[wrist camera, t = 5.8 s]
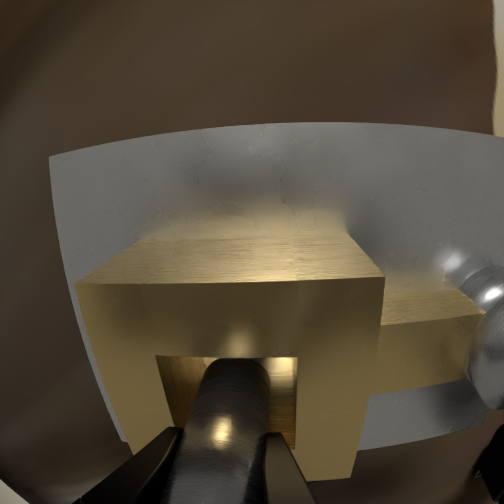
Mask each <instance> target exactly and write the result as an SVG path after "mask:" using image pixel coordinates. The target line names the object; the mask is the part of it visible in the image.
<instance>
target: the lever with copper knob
mask: <svg viewBox="0 0 504 504" xmlns="http://www.w3.org/2000/svg"><path fill="white" fill-rule="evenodd" d="M270 398H271V379H270V376H269V374H268V372H267V371H266V369H265V368H264V367H263V366H262V365H260V364H259V363H258V362H256V361H254V360H252V359H249V358H218V359H216V360H214V361H213V362H211V363H210V364H209V365H208V366H207V368H206V369H205V371H204V374H203V377H202V380H201V383H200V386H199V389H198V391H197V394H196V397H195V400H194V403H193V406H192V409H191V412H190V415H189V418H188V420H187V423H186V426H185V429H184V432H183V435H182V438H181V441H180V444H179V447H178V450H177V452H176V455H175V458H174V461H173V464H172V467H171V470H170V473H169V476H168V479H167V482H166V485H165V488H164V490H163V493H162V496H161V499H160V502H159V504H263V503H264V494H263V483H262V458H263V449H264V439H265V433H266V432H269V415H270Z"/></svg>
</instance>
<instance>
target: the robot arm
mask: <svg viewBox="0 0 504 504" xmlns="http://www.w3.org/2000/svg"><path fill="white" fill-rule="evenodd" d="M183 432H184V429H183V428H181V427H172V426H169V427H167V428H166V429H164V430H163V431H162V432H161V433H160V434H159V435H157V436H156V437H155V438H154V439H153V440H152V441H150V442H149V443H148V444H147V445H146V446H144V447H143V448H142V449H141V450H140V451H138V452H137V453H136V454H135V455H134V456H132V457H131V458H130V459H129V460H128V461H126V462H125V463H124V464H123V465H121V466H120V467H119V468H118V469H116V470H115V471H114V472H113V473H111V474H110V475H109V476H108V477H106V478H105V479H104V480H102V481H101V482H100V483H99V484H97V485H96V486H95V487H93V488H92V489H91V490H89V491H88V492H87V493H86V494H84V495H83V496H82V499H81V498H79V499H77V500H76V501H75V502H73V503H72V504H159V502H160V499H161V496H162V493H163V490H164V488H165V485H166V482H167V479H168V476H169V473H170V470H171V467H172V464H173V461H174V458H175V455H176V452H177V450H178V447H179V444H180V441H181V438H182V435H183ZM473 475H474V477H475V478H477V477H479V476H482V478H483V480H484V482H485V484H486V486H487V489H488V491H489V493H490V495H491V497H492V500H493V501H494V502H497V501H498V503H499V504H504V425H503V426H502V427H501V428H500V429H499V430H498V432H497V434H496V436H495V438H494V440H493V441H492V443H491V445H490V447H489V448H488V450H487V452H486V453H485V455H484V457H483V458H482V460H481V462H480V463H479V465H478V466H477V468H476V469H475V471H474V472H473ZM262 483H263V494H264V504H319V503H318V501H317V499H316V497H315V496H314V494H313V492H312V490H311V488H310V486H309V484H308V483H307V481H306V479H305V477H304V475H303V473H302V471H301V469H300V467H299V465H298V464H297V462H296V460H295V458H294V456H293V454H292V452H291V450H290V448H289V446H288V444H287V442H286V440H285V438H284V436H283V434H282V433H281V432H266V433H265V439H264V449H263V458H262Z"/></svg>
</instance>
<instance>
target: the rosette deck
mask: <svg viewBox="0 0 504 504" xmlns="http://www.w3.org/2000/svg"><path fill="white" fill-rule="evenodd" d="M49 165H50V177H51V187H52V196H53V204H54V212H55V219H56V225H57V232H58V238H59V243H60V249H61V254H62V259H63V264H64V269H65V274H66V278H67V282H68V287H69V291H70V295H71V299H72V303H73V307H74V311H75V314H76V318H77V321H78V325H79V328H80V332H81V335H82V338H83V342H84V345H85V348H86V351H87V354H88V357H89V360H90V363H91V366H92V369H93V372H94V375H95V377H96V380H97V383H98V385H99V388H100V391H101V393H102V396H103V398H104V401H105V403H106V406H107V408H108V411H109V413H110V416H111V418H112V420H113V422H114V425H115V427H116V429H117V432H118V434H119V436H120V438H121V440H122V441H124V442H128V444H129V446H130V448H131V450H132V453H133V455H135V454H136V453H137V452H138V451H140V450H141V449H142V448H143V447H144V446H146V445H147V444H148V443H149V442H150V441H152V440H153V439H154V438H155V437H156V436H157V435H159V434H160V433H161V432H162V431H163V430H164V429H166V428H167V427H169V426H172V427H181V428H183V429H185V426H186V423H187V420H188V418H189V415H190V412H191V409H192V406H193V403H194V400H195V397H196V394H197V391H198V389H199V386H200V383H201V380H202V377H203V374H204V371H205V369H206V368H207V366H208V365H209V364H210V363H211V362H213V361H214V360H216V359H218V358H249V359H252V360H254V361H256V362H258V363H259V364H260V365H262V366H263V367H264V368H265V369H266V371H267V372H268V374H269V376H270V379H271V398H270V415H269V432H281V433H282V434H283V436H284V438H285V440H286V442H287V444H288V446H289V448H290V450H291V452H292V454H293V456H294V458H295V460H296V462H297V464H298V465H299V467H300V469H301V471H302V473H303V475H304V477H305V479H306V481H318V480H331V479H341V478H350V476H351V473H352V469H353V465H354V462H355V458H356V454H357V450H365V449H373V448H380V447H386V446H392V445H398V444H403V443H408V442H414V441H418V440H423V439H428V438H432V437H436V436H440V435H444V434H448V433H452V432H456V431H459V430H463V429H467V428H470V427H473V426H477V425H480V424H483V422H484V420H485V418H486V416H487V413H488V411H489V409H490V408H492V409H496V410H501V409H504V138H503V137H498V136H493V135H487V134H480V133H473V132H466V131H459V130H451V129H442V128H433V127H422V126H410V125H396V124H378V123H347V122H307V123H275V124H257V125H242V126H229V127H218V128H208V129H199V130H190V131H182V132H174V133H167V134H160V135H153V136H147V137H141V138H135V139H129V140H123V141H118V142H113V143H107V144H102V145H98V146H93V147H88V148H84V149H79V150H75V151H70V152H66V153H62V154H58V155H54V156H50V157H49Z"/></svg>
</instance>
